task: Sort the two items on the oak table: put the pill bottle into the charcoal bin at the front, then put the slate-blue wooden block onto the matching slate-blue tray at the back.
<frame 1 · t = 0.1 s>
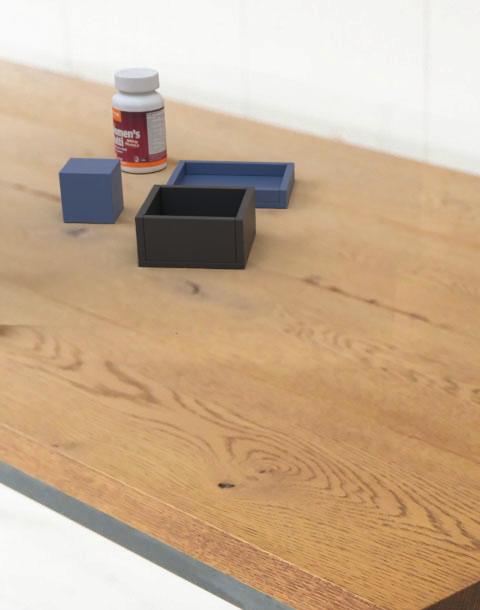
blue block: (94, 214, 148), on the table
charcoal bin: (199, 249, 138), on the table
pill bottle: (142, 168, 163), on the table
blue tray: (231, 192, 155), on the table
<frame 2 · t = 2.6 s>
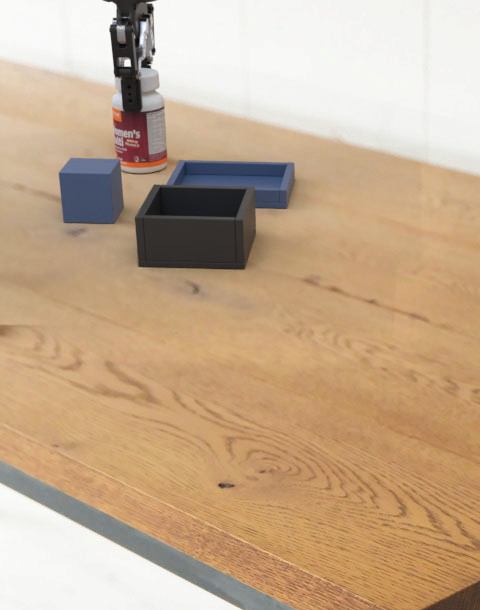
hand: (138, 103, 160), 8 cm above the table, tool pointing down, fingers closed on pill bottle, 6 cm apart
pill bottle: (142, 168, 163), on the table, touching gripper
everything else where it was.
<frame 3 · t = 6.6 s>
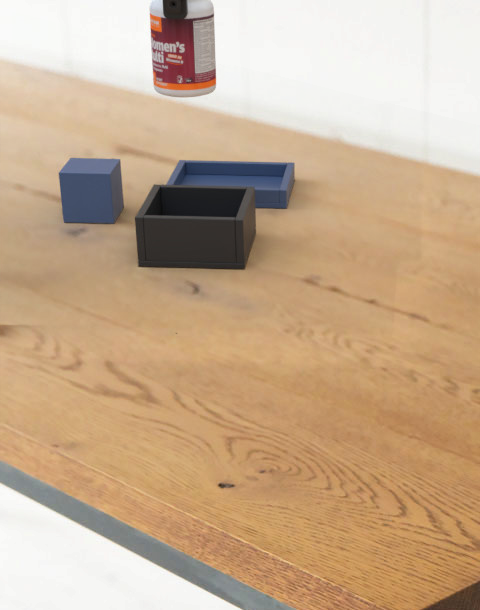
hand: (181, 10, 129), 23 cm above the table, tool pointing down, fingers closed on pill bottle, 6 cm apart
pill bottle: (185, 93, 133), point 15 cm above the table, touching gripper
everything else where it was.
when the fingers open (8 cm above the table, at t = 10.7 s): pill bottle stays where it is, resting on charcoal bin.
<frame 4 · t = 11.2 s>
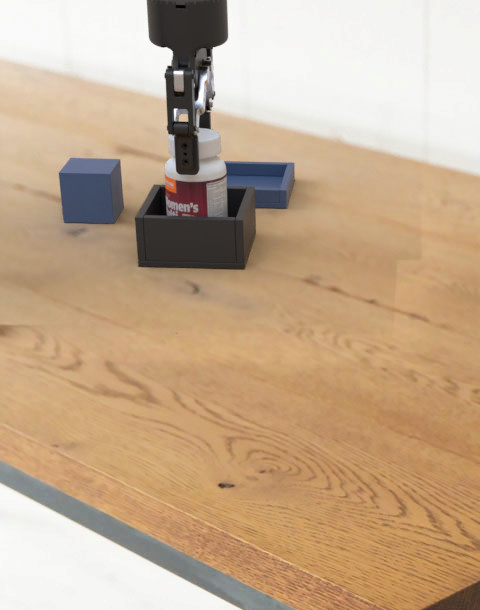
hand: (194, 161, 134), 9 cm above the table, tool pointing down, fingers open, 8 cm apart
pill bottle: (199, 245, 138), resting on charcoal bin
everything else where it was.
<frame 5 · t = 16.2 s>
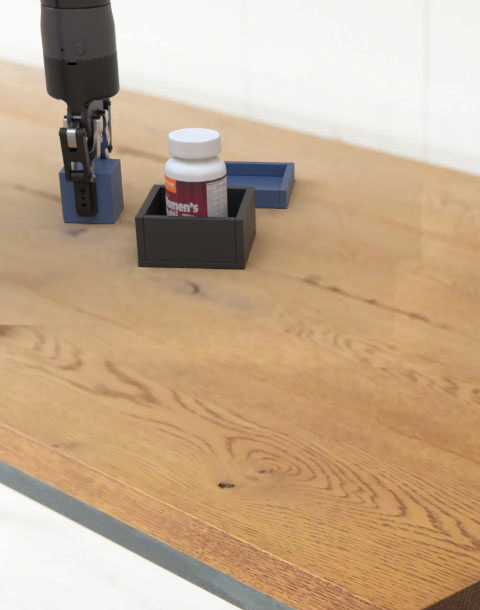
hand: (93, 205, 147), 1 cm above the table, tool pointing down, fingers closed on blue block, 5 cm apart
blue block: (94, 214, 148), on the table, touching gripper
everything else where it was.
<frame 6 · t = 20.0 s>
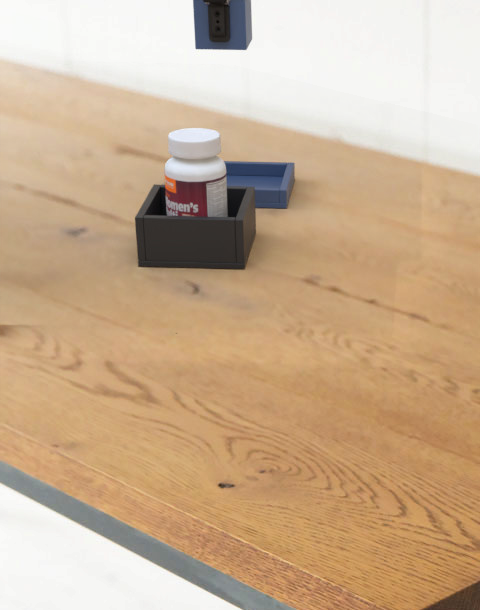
hand: (223, 34, 146), 18 cm above the table, tool pointing down, fingers closed on blue block, 5 cm apart
blue block: (224, 44, 147), point 17 cm above the table, touching gripper
everything else where it was.
when the fingers open (2 cm above the table, at t = 24.0 s): blue block stays where it is, resting on blue tray.
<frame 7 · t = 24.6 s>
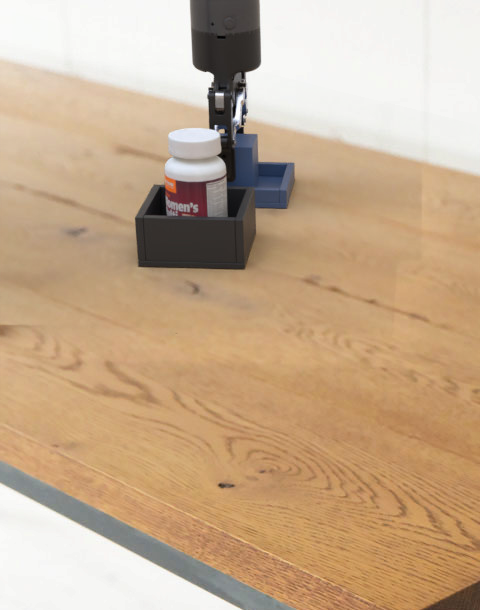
hand: (230, 169, 154), 3 cm above the table, tool pointing down, fingers open, 8 cm apart
blue block: (232, 187, 155), point 1 cm above the table, touching blue tray
everything else where it was.
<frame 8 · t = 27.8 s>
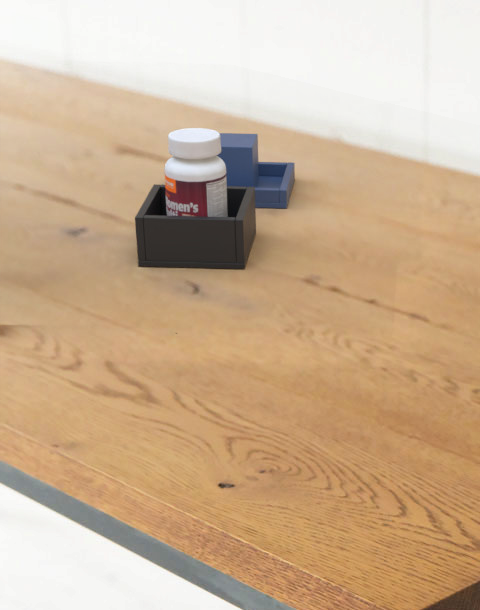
nothing on the table moved.
at the end: pill bottle inside the target area in the charcoal bin (0.0 cm from its centre), point 0.4 cm above the charcoal bin's base; pill bottle tilted 0°; blue block inside the target area in the blue tray (0.1 cm from its centre), point 0.6 cm above the blue tray's base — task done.
